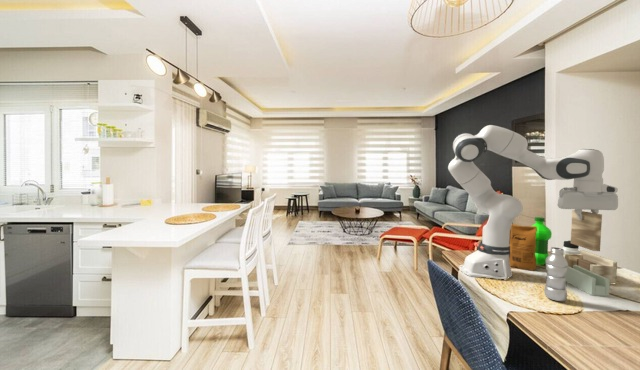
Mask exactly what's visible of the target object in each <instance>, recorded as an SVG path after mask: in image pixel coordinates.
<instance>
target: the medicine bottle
mask: <svg viewBox="0 0 640 370" xmlns="http://www.w3.org/2000/svg"><path fill="white" fill-rule="evenodd" d="M562 242H563V244H562V246H563V247H560V248H561V249H564V253H566V254H580V250H579V249H580V248H579V247H580V246H577V245H574V244H571V239H570V240H567V239H566V240H564V241H562Z"/></svg>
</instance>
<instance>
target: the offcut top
mask: <svg viewBox="0 0 640 370" xmlns="http://www.w3.org/2000/svg"><path fill="white" fill-rule="evenodd" d="M579 259H583V258H580V257H577V256H569V262H572V263H574V264H578V260H579Z"/></svg>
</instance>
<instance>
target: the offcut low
mask: <svg viewBox="0 0 640 370" xmlns="http://www.w3.org/2000/svg"><path fill="white" fill-rule="evenodd" d="M573 265H577V266H578V264H574V263H572V262H569V261H568V266H569V267H571V268H573Z"/></svg>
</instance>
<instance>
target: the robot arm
mask: <svg viewBox="0 0 640 370" xmlns="http://www.w3.org/2000/svg"><path fill="white" fill-rule="evenodd" d="M528 145H529V144H528V140H527V138H526V137H525V136H524V135H521V134H520V133H518V132H515V131H513V130H510V129H509V128H505V127H503V126H502V127H501V126H498V125H493V124H489V125H486V126H484V127H483V128H482V129H481V130H479V132H478V133H477V134H473V133H470V132H461V133H458V134H457V135H456V136H455V137H454V138H453V141H452V151H453V156H454V158H452V159H451V161H450V162H449V163H448V166H447V169H448V172H449V173H450V175H451V177H453V179H454V180H455V181H456V182H457V183H458V184H459V185H460V186H461V188H462V189H463V190H465V192H466V193H467V194H468V195H469V196H470V197H471V199H472V200H473V202H474V206H475V208H476V209H477V210H478V211H480V212H481V213H483V214H486V215H488V220H487V222H486V224H484V225H483V226H482V237H481V238H482V239H481V243H479V242H474V243H473V245H474V246H475V248H477V250H476V251H474V252H472V253H470V254H469V255H466V257H465V258H464V261H463V264H460V265H458V269H459V271H461V273H463V274H464V275H467V276H469V277H474V278H481V277H486V278H485V279H490V278H497V279H496V280H498V279H505V280H504V281H507V280H508V279H509V278H508V277H511V276H512V275H513V273H512V267H510V260H509V257H510V246H509V244H510V238H511V237H510V235H511V226H512V224H514V221H515V220H516V218H518V217H519V216H520V215H521V214H522V212H523V203H522V201H521V200H520V199H518V198H517V197H514V196H513V195H510V194H504V193H499V192H496V191H495V190H494V189H493V187H492V182H491V180H490V179H489V177H488V176H487V175H486V174H485V173H484V172H483V171H482V170H481V169H480V168H479V167H478V166H477V165H476V164H475V163H474V161H476V160H478V159H479V158H480V157H482V155H483V154H484V153H485V154H486V152H487V151H491V152H493V153H495V154H497V155H499V156H502V157H504V158H507V159H511V160H513V161H516V162H518V163H520V164H522V165H524V166H526V167H528V168H530V169H532V170H533V171H535V173H536V174H537V175H538V176H539V177H540V178H542V179H543V180H548V181H551V180H561V181H563V180H564V181H565V180H567V181H568V180H573V184H572V185H573V186H572V187H567V186H566V187H565V186H564V187H563V188H561V189H560V190H559V193H558V194H559V195H558V200H557V207H558V208H559V209H563V210H575V213H576V214H577V219H578V220H584V218H585V216H582V214H581V212H582V211H585V210H587V211H590V212H591V213H596V214H600V213H599V211H616V210H617V209H618V207H619V196H618V194H617V193H618V189H619V188H617V187H616V186H611V185H608V184H606V183H604V178H603V173H604V170H605V156H604V154H603V152H602V151H600V150H598V149H592V148H582V149H578V150H577V151H576V152H573V153H571V154H569V155H566V156H563V157H542V156H540V155H538V154H536V153H534V152H533V151H531V150H529V149H528V147H529V146H528ZM512 277H513V276H512ZM512 277H511V278H512ZM507 278H508V279H507ZM506 279H507V280H506Z"/></svg>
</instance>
